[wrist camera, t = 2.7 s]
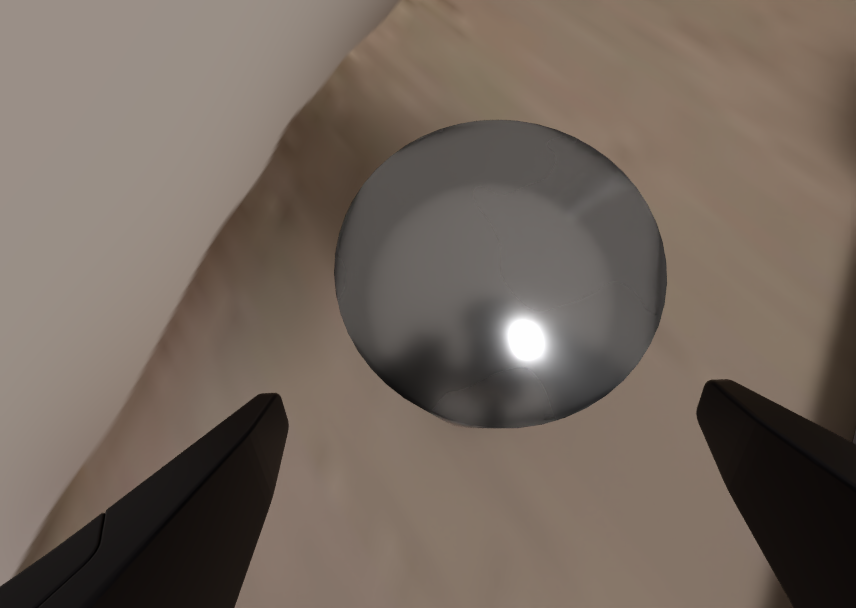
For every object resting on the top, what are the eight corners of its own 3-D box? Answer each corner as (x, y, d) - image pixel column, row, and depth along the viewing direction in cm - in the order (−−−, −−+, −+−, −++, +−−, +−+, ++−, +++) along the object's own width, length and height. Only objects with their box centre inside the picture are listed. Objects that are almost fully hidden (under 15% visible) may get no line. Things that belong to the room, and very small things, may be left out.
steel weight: (500, 448, 18) (598, 495, 6) (394, 396, 19) (275, 336, 6) (544, 342, 19) (709, 182, 7) (443, 297, 20) (420, 82, 8)
